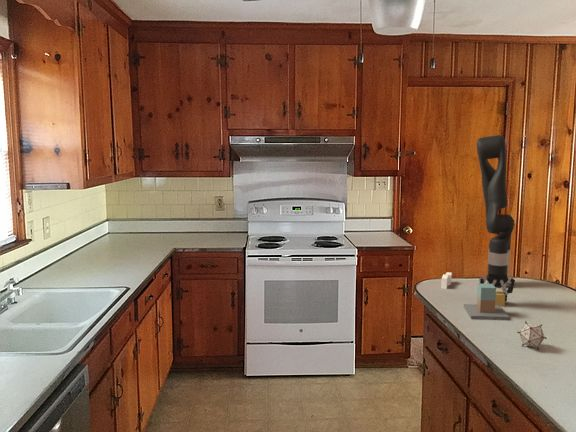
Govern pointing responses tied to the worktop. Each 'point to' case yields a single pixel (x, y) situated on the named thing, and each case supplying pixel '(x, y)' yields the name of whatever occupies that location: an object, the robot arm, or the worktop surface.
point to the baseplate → (485, 315)
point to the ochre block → (500, 298)
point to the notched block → (446, 280)
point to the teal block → (486, 292)
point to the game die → (532, 335)
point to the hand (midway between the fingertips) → (495, 302)
